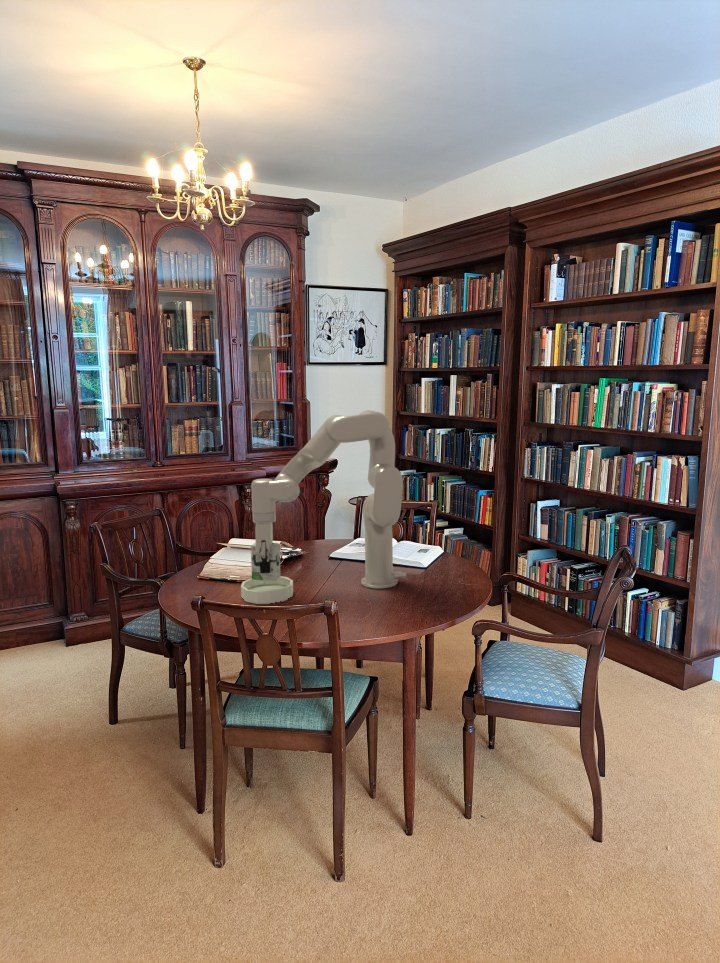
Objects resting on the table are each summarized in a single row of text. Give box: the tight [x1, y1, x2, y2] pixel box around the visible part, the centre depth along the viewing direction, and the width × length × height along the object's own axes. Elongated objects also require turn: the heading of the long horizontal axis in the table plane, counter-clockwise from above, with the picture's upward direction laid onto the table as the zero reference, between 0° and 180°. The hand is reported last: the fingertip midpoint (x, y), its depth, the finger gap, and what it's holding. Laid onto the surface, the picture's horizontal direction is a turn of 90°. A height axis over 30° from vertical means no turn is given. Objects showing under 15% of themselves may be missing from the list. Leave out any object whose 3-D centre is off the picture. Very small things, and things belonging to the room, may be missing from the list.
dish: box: [240, 575, 294, 605], centre depth 214 cm, size 17×17×4 cm
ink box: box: [250, 541, 281, 581], centre depth 213 cm, size 9×5×12 cm, turn 75°
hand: (266, 569), depth 213 cm, fingers closed on ink box, 6 cm apart
